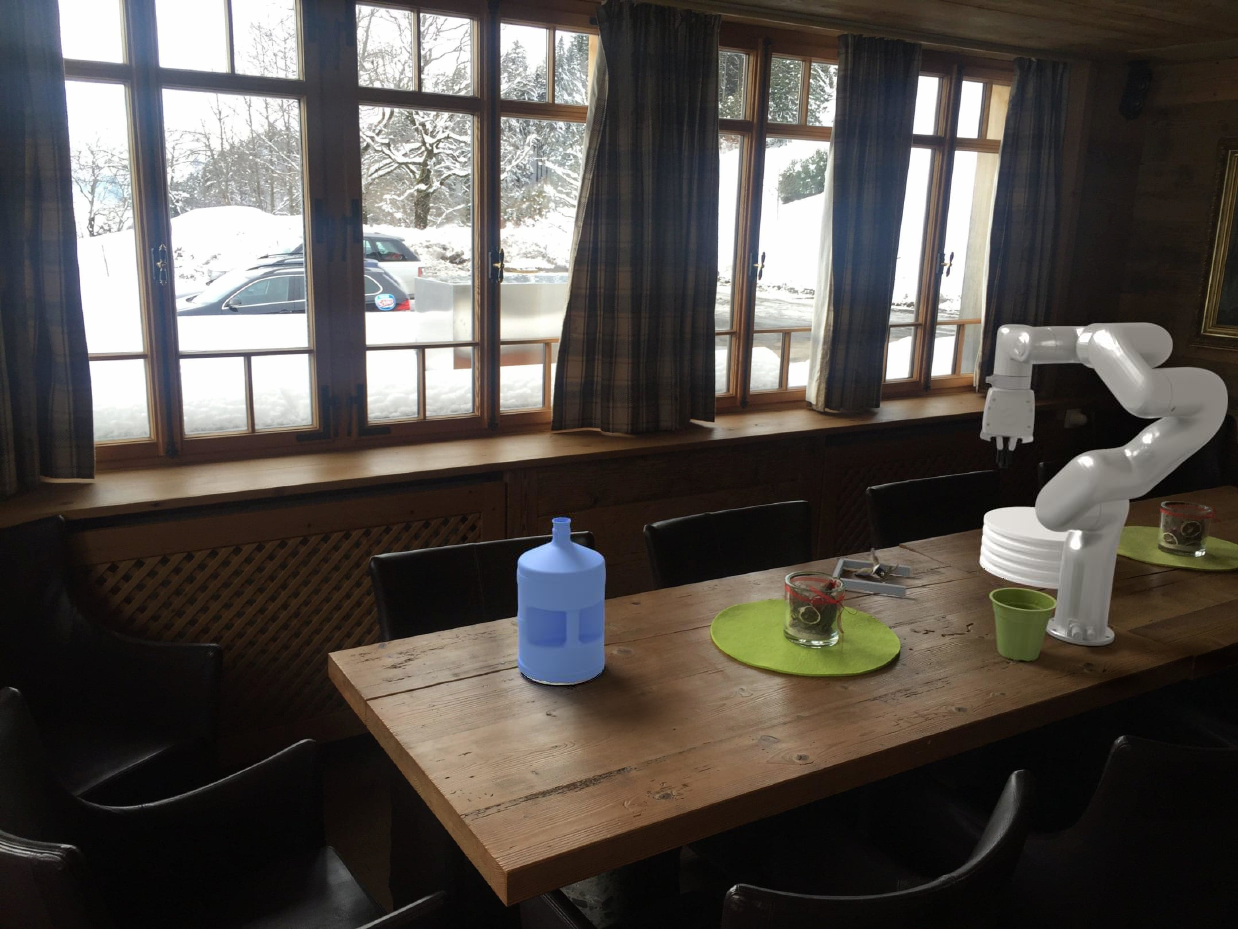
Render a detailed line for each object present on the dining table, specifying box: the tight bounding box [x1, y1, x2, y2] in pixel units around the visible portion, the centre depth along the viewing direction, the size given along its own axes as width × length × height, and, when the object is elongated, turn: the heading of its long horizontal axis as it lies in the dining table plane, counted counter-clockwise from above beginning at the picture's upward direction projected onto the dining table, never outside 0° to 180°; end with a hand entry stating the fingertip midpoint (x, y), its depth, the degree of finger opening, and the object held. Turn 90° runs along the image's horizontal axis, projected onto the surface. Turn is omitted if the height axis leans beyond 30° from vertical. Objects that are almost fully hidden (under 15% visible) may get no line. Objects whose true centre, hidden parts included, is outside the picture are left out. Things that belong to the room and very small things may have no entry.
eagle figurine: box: [854, 547, 900, 583], centre depth 229 cm, size 8×7×9 cm
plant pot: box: [989, 587, 1058, 662], centre depth 188 cm, size 12×12×11 cm
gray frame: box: [831, 557, 912, 598], centre depth 227 cm, size 15×16×2 cm
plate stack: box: [979, 506, 1069, 590], centre depth 237 cm, size 28×28×12 cm
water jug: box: [516, 517, 607, 683], centre depth 178 cm, size 16×16×28 cm
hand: (1003, 466), depth 218 cm, fingers closed
